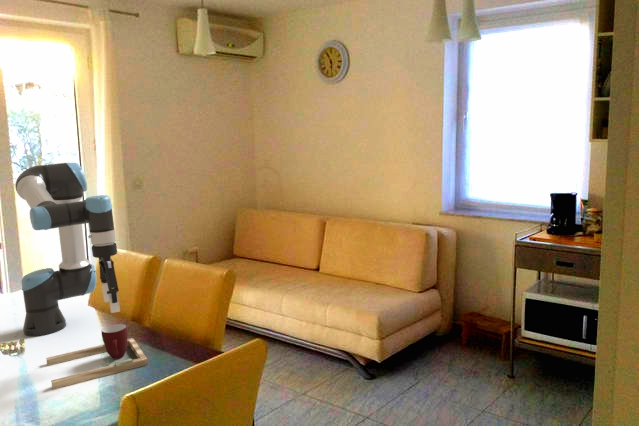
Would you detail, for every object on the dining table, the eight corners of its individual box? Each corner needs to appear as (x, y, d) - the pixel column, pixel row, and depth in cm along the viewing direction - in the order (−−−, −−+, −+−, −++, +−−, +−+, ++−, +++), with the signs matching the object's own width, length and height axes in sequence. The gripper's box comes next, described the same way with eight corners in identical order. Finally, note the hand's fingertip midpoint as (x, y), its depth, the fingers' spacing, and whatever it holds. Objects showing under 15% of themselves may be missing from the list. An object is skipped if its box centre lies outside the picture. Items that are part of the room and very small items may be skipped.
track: (47, 363, 187) (45, 356, 187) (133, 343, 201) (132, 336, 200) (52, 389, 168) (51, 381, 167) (147, 364, 181) (146, 356, 181)
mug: (132, 360, 185) (128, 331, 183) (106, 366, 182) (102, 337, 180) (129, 349, 195) (125, 322, 193) (104, 355, 191) (100, 327, 190)
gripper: (86, 239, 190) (94, 299, 194) (97, 252, 169) (106, 319, 172) (109, 236, 194) (116, 295, 197) (123, 247, 173) (131, 314, 176)
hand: (111, 306), depth 185 cm, fingers open, 13 cm apart
